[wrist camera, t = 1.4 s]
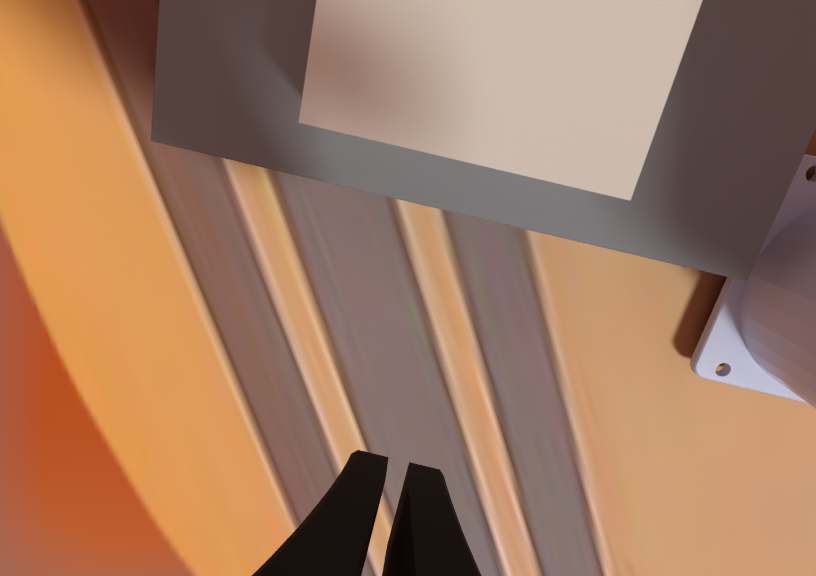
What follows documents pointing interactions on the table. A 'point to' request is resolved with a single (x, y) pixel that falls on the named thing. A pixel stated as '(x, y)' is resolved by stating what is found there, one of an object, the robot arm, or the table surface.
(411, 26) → the cream tile
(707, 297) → the table surface
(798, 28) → the bench plate
